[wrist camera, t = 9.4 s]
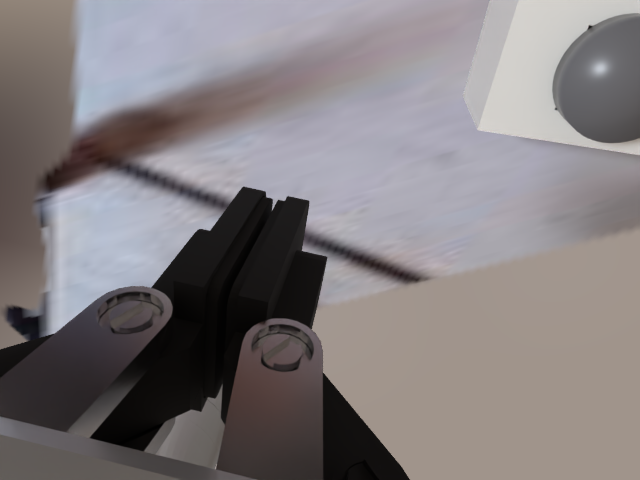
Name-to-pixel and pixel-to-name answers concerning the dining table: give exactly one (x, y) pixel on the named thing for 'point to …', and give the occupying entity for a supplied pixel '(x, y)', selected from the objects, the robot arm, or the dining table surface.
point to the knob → (602, 81)
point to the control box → (532, 67)
